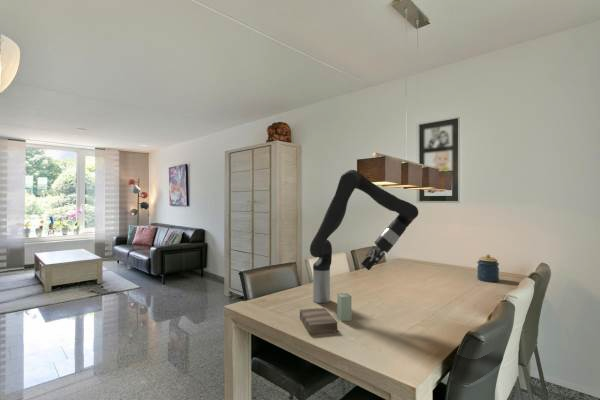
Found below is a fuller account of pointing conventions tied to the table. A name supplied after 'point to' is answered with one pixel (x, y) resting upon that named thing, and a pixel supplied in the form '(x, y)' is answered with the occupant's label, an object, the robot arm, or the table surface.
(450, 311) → the table surface
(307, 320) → the walnut base
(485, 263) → the canister
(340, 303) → the sage block
